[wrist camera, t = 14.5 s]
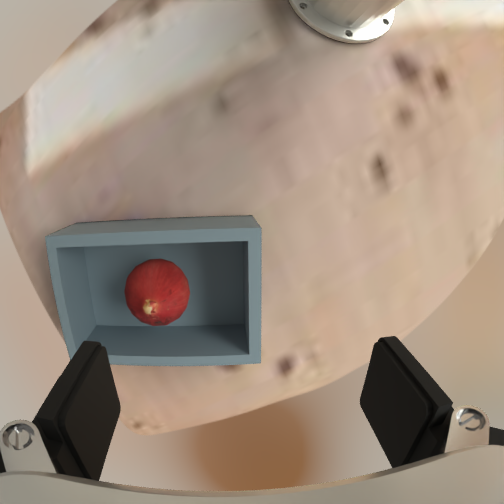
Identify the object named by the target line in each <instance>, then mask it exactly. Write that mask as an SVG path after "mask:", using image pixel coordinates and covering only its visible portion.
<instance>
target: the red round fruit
mask: <svg viewBox="0 0 504 504" xmlns="http://www.w3.org/2000/svg"><path fill="white" fill-rule="evenodd" d="M124 293H125V299H126V304H127V306H128V308H129V310H130V311H131V313H132V315H134V316H135V317H136V318H137V319H138V320H139V321H140V322H142V323H145V324H148V325H151V326H165V325H168V324H170V323H171V322H173V321H175V320H177V319H178V318H180V316H181V315H182V314H183V312H184V311H185V309H186V308H187V305H188V300H189V296H190V289H189V284H188V279H187V278H186V276H185V274H184V273H183V271H182V269H181V268H179V267H178V266H177V265H176V264H174V263H173V262H171V261H168V260H164V259H161V258H160V259H149V260H147V261H145V262H143V263H141V264H139V265H137V266H135V268H134V269H133V270H132V271H131V273H130V274H129V275H128V277H127V280H126V285H125V290H124Z"/></svg>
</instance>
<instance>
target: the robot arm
mask: <svg viewBox="0 0 504 504" xmlns="http://www.w3.org/2000/svg"><path fill="white" fill-rule="evenodd" d="M403 1H404V0H289V2H290V4H291V6H292V8H293V10H294V11H295V12H296V13H297V15H298V16H299V17H300V18H301V19H302V20H303V21H304V22H305V23H306V24H307V25H309V26H310V27H312V28H313V29H314V30H316V31H317V32H319V33H321V34H323V35H325V36H327V37H329V38H332V39H335V40H338V41H342V42H346V43H358V44H360V43H368V42H371V41H374V40H376V39H378V38H379V37H381V36H383V35H384V34H385V33H386V32H387V31H388V30H389V29H390V27H391V26H392V23H393V20H394V8H395V7H396V6H397V5H399V4H400V3H401V2H403ZM301 8H302V9H301ZM452 404H453V402H452V401H451V400H450V398H449V397H448V396H447V395H446V394H445V393H444V391H443V390H442V389H441V388H440V387H439V385H438V384H437V383H436V382H435V381H434V380H433V378H432V377H431V376H430V375H429V374H428V372H426V370H425V369H424V368H423V367H422V366H421V364H420V363H419V362H418V361H417V360H416V359H415V358H414V356H413V355H412V354H411V353H410V352H409V351H408V350H407V348H406V347H405V346H404V345H403V344H402V343H401V342H400V340H399V339H398V338H397V337H395V336H391V337H382V338H380V339H379V340H378V342H376V343H375V344H374V347H373V351H372V355H371V359H370V363H369V367H368V371H367V375H366V379H365V383H364V386H363V390H362V394H361V397H360V405H361V408H362V410H363V412H364V413H365V416H366V418H367V419H368V421H369V423H370V425H371V427H372V429H373V431H374V433H375V435H376V437H377V439H378V441H379V443H380V445H381V447H382V448H383V450H384V452H385V454H386V456H387V458H388V460H389V462H390V464H391V466H392V468H391V469H388V470H384V471H380V472H376V473H372V474H368V475H363V476H358V477H354V478H349V479H343V480H338V481H333V482H326V483H320V484H313V485H306V486H298V487H290V488H280V489H268V490H253V491H182V490H166V489H155V488H146V487H137V486H129V485H122V484H114V483H108V482H102V481H99V479H100V475H101V472H102V469H103V465H104V462H105V459H106V455H107V452H108V449H109V445H110V442H111V439H112V436H113V433H114V429H115V427H116V424H117V421H118V418H119V415H120V402H119V398H118V395H117V391H116V387H115V383H114V379H113V375H112V371H111V367H110V363H109V359H108V354H107V350H106V347H105V346H102V345H101V343H100V342H96V341H83V342H82V344H81V345H80V347H79V348H78V350H77V351H76V353H75V354H74V356H73V357H72V359H71V360H70V362H69V364H68V365H67V367H66V369H65V370H64V371H63V373H62V375H61V376H60V377H59V378H58V380H57V382H56V383H55V385H54V386H53V388H52V390H51V391H50V393H49V395H48V397H47V398H46V400H45V401H44V403H43V404H42V406H41V408H40V409H39V411H38V413H37V415H36V416H35V418H34V420H33V421H32V422H29V421H27V420H15V421H12V422H10V423H8V424H6V425H5V426H4V427H3V428H2V429H1V431H0V504H504V430H501V429H497V428H493V427H490V422H489V418H488V416H487V414H486V413H485V412H484V411H483V410H481V409H479V408H478V407H474V406H470V405H463V406H460V407H458V408H456V409H455V410H454V409H453V408H452Z"/></svg>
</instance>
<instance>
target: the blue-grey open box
mask: <svg viewBox="0 0 504 504" xmlns="http://www.w3.org/2000/svg"><path fill="white" fill-rule="evenodd" d="M45 239H46V247H47V254H48V261H49V268H50V274H51V279H52V285H53V290H54V295H55V300H56V305H57V310H58V314H59V318H60V323H61V327H62V331H63V335H64V339H65V342H66V346H67V350H68V353H69V357H70V360H71V359H72V357H73V356H74V354H75V353H76V351H77V350H78V348H79V347H80V345H81V344H82V342H83V341H96V342H100V343H101V345H102V346H105V347H106V350H107V354H108V359H109V363H110V364H116V365H141V366H212V365H238V364H256V363H261V227H260V225H259V224H258V223H257V221H256V220H255V219H254V217H253V216H252V215H248V216H208V217H179V218H155V219H133V220H115V221H97V222H82V223H75V224H73V225H71V226H68V227H66V228H64V229H61V230H59V231H57V232H54V233H52V234H50V235H47V236H45ZM160 258H161V259H164V260H168V261H171V262H173V263H174V264H176V265H177V266H178V267H179V268H181V269H182V271H183V273H184V274H185V276H186V278H187V279H188V284H189V289H190V296H189V300H188V305H187V308H186V309H185V311H184V312H183V314H182V315H181V316H180V318H178V319H177V320H175V321H173V322H171V323H170V324H168V325H165V326H151V325H148V324H145V323H142V322H140V321H139V320H138V319H137V318H136V317H135V316H134V315H132V313H131V311H130V310H129V308H128V306H127V304H126V299H125V293H124V290H125V285H126V280H127V277H128V275H129V274H130V273H131V271H132V270H133V269H134V268H135V266H137V265H139V264H141V263H143V262H145V261H147V260H149V259H160Z"/></svg>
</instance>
